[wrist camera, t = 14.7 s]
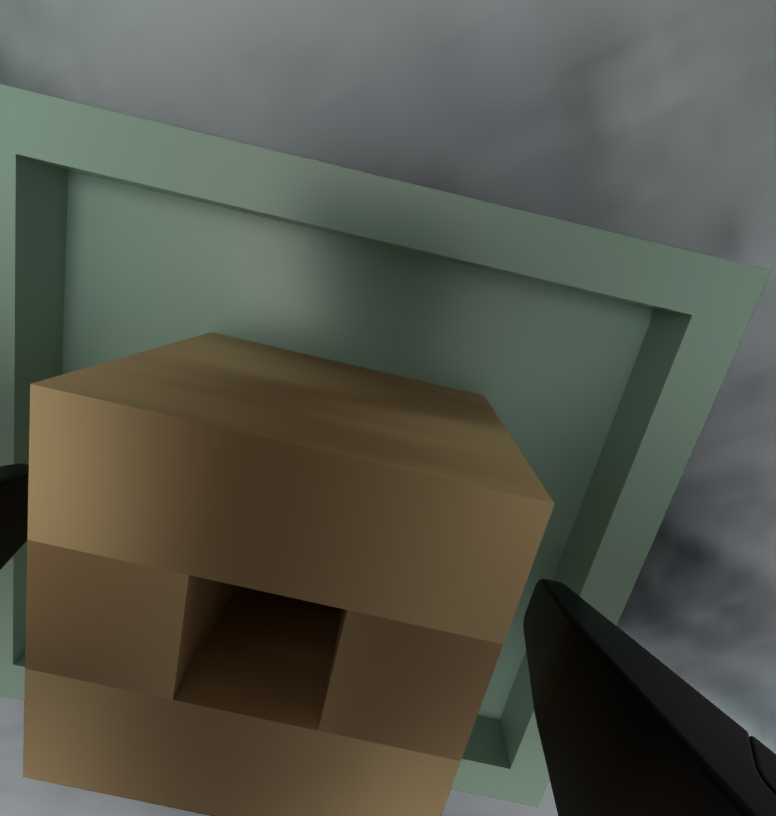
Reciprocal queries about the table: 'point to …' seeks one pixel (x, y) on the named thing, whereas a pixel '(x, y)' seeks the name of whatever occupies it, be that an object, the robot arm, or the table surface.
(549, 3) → the table surface
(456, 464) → the oak block
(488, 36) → the table surface
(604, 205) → the table surface
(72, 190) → the green tray
